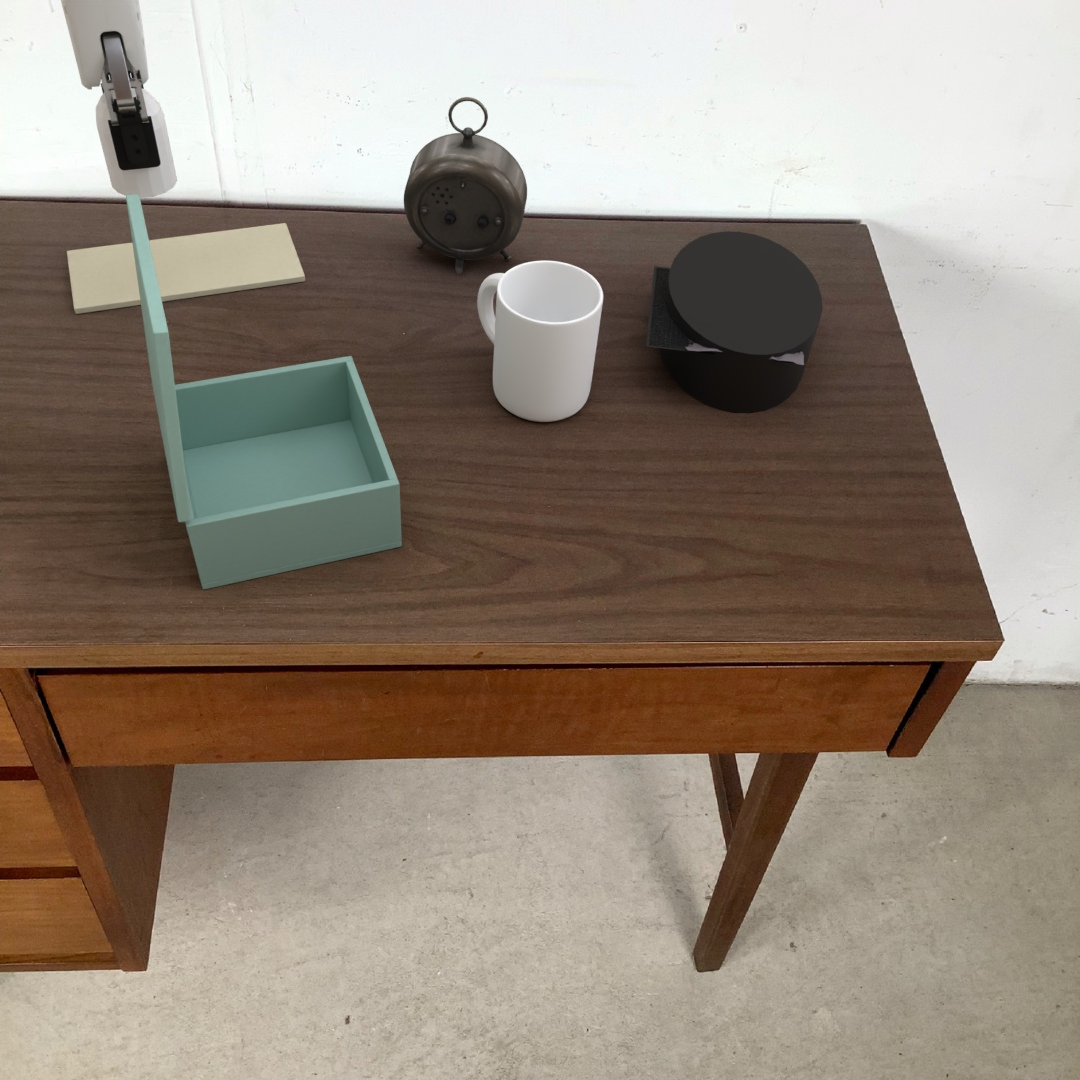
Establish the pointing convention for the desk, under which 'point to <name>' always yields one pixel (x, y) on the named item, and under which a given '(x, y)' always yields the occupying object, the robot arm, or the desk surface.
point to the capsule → (145, 179)
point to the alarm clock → (465, 195)
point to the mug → (542, 337)
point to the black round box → (735, 320)
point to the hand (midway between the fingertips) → (135, 145)
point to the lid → (159, 356)
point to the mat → (185, 267)
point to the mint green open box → (284, 471)
